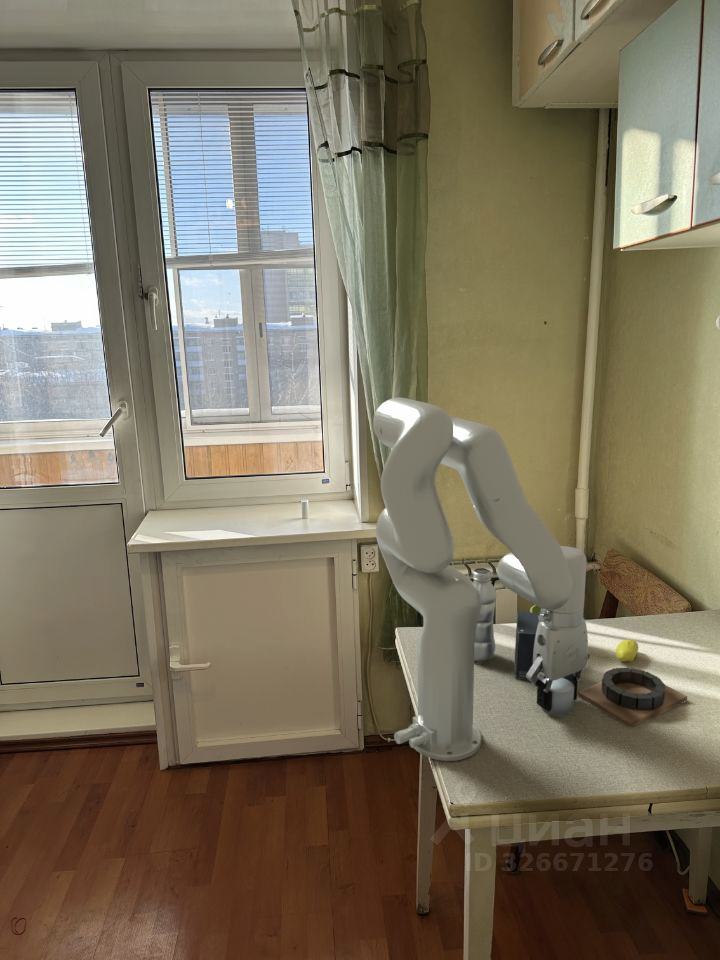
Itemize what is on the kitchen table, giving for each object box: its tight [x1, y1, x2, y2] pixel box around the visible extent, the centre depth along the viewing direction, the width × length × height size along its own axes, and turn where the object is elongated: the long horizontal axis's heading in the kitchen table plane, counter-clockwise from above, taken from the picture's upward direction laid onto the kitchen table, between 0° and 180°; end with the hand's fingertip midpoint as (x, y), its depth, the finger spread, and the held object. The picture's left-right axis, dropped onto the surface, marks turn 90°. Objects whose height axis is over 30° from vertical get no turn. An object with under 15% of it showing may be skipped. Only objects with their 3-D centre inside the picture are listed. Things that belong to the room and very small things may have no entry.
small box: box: [514, 610, 546, 681], centre depth 142 cm, size 11×6×10 cm, turn 168°
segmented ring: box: [601, 667, 667, 711], centre depth 131 cm, size 11×11×2 cm
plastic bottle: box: [472, 567, 498, 662], centre depth 145 cm, size 6×7×20 cm
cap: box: [540, 678, 575, 716], centre depth 129 cm, size 6×6×5 cm
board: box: [578, 682, 688, 729], centre depth 131 cm, size 16×12×1 cm
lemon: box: [615, 639, 639, 662], centre depth 146 cm, size 4×8×4 cm, turn 140°
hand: (556, 701), depth 129 cm, fingers closed on cap, 5 cm apart
